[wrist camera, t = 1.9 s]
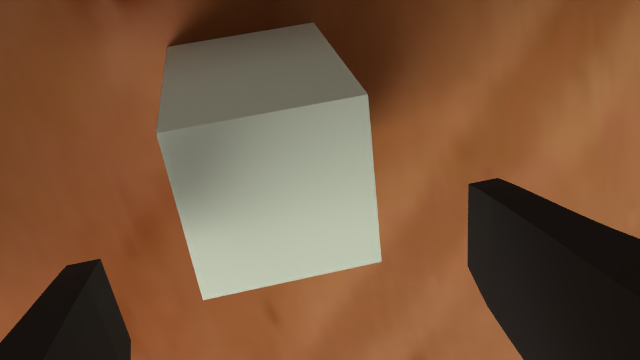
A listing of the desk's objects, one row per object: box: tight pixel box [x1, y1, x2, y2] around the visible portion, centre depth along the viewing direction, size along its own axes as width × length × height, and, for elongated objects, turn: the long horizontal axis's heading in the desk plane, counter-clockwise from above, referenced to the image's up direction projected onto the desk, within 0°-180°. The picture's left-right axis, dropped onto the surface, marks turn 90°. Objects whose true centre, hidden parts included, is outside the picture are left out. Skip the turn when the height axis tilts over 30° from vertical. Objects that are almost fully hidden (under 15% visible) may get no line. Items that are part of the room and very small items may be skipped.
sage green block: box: [156, 22, 381, 300], centre depth 16 cm, size 4×4×6 cm
